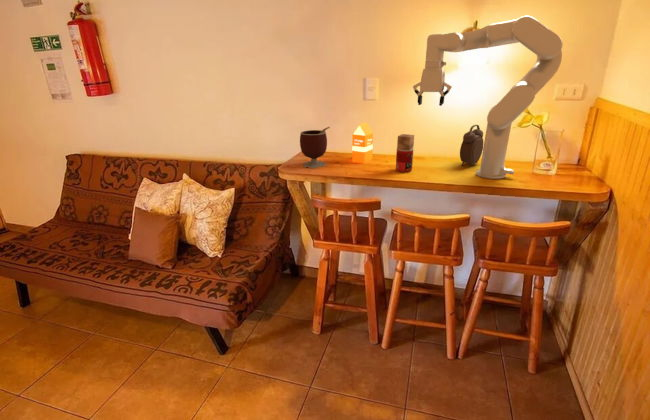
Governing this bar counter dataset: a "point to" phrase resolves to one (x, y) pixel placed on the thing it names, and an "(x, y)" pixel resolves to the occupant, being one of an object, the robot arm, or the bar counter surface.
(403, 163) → the canned food
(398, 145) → the walnut cube
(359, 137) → the orange juice
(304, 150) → the mate gourd
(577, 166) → the bar counter surface
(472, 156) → the alarm clock
